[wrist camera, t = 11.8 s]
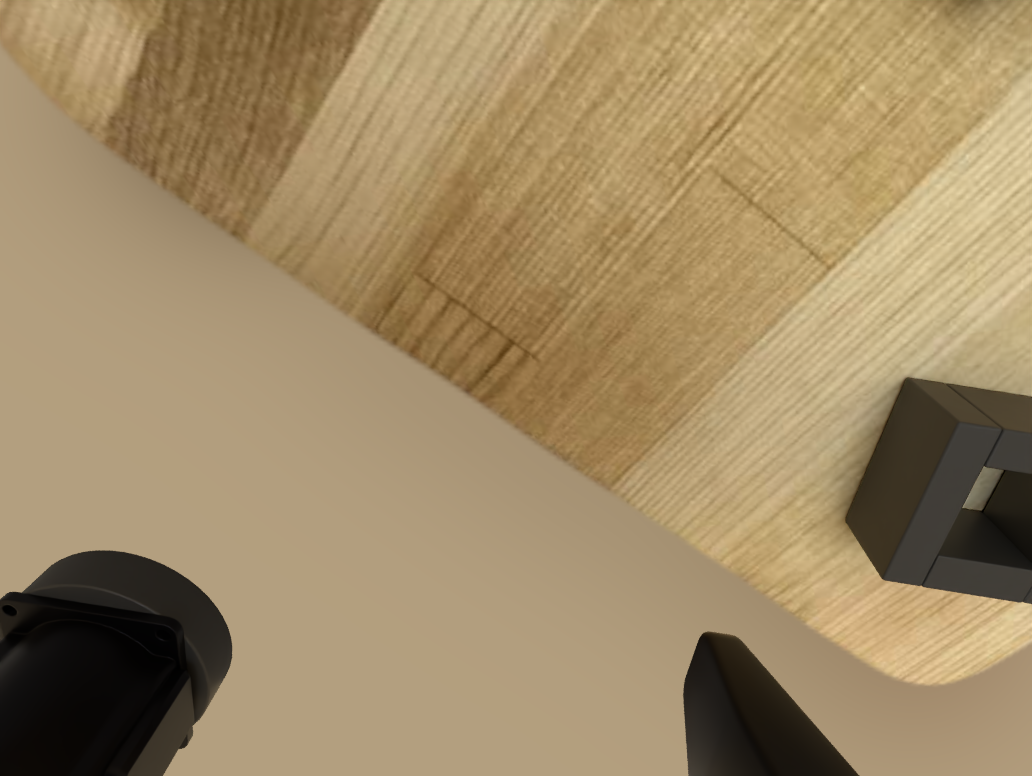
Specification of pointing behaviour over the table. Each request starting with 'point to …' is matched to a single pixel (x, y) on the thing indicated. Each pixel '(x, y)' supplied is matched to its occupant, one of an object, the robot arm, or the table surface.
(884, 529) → the stand
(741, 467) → the table surface
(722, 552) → the table surface
